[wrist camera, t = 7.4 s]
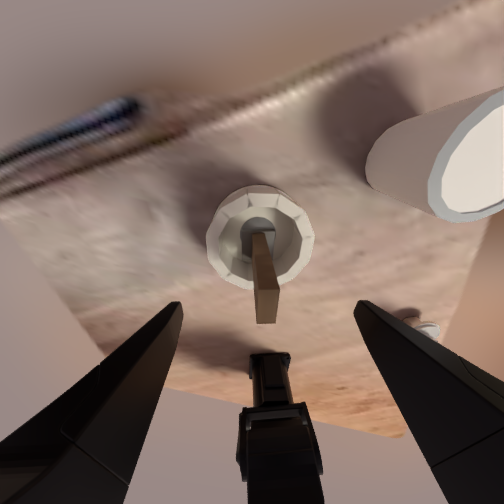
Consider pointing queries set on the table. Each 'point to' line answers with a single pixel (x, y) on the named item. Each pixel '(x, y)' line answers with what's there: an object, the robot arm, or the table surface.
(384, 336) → the robot arm
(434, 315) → the table surface
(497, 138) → the white tapered cylinder
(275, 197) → the white bowl
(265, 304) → the brown wooden handle
